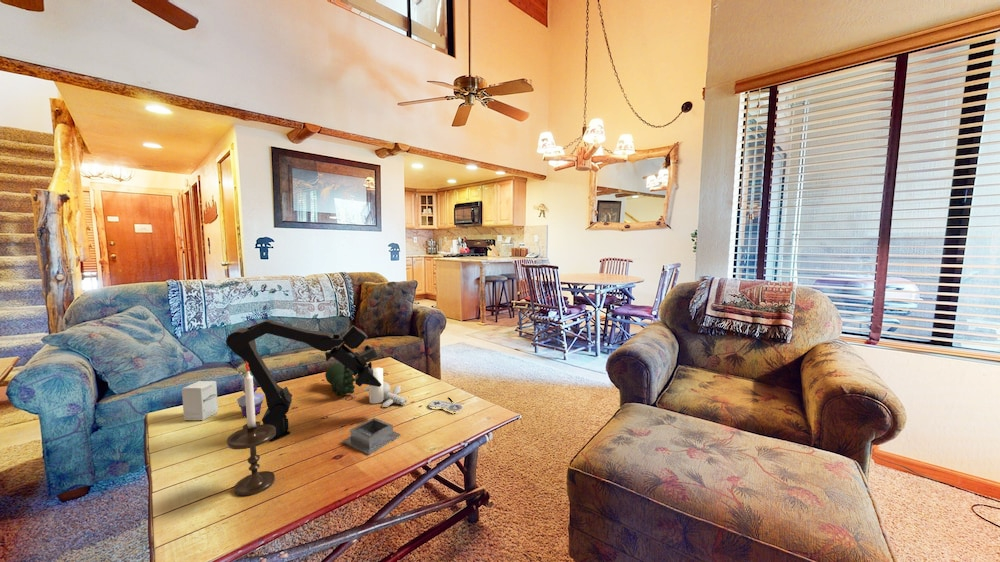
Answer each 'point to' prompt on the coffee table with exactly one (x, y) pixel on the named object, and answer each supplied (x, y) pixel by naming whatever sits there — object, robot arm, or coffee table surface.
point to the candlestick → (252, 445)
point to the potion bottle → (257, 401)
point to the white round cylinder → (375, 391)
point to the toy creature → (391, 395)
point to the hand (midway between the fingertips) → (380, 383)
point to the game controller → (446, 405)
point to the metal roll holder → (371, 436)
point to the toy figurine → (340, 379)
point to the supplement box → (200, 400)
